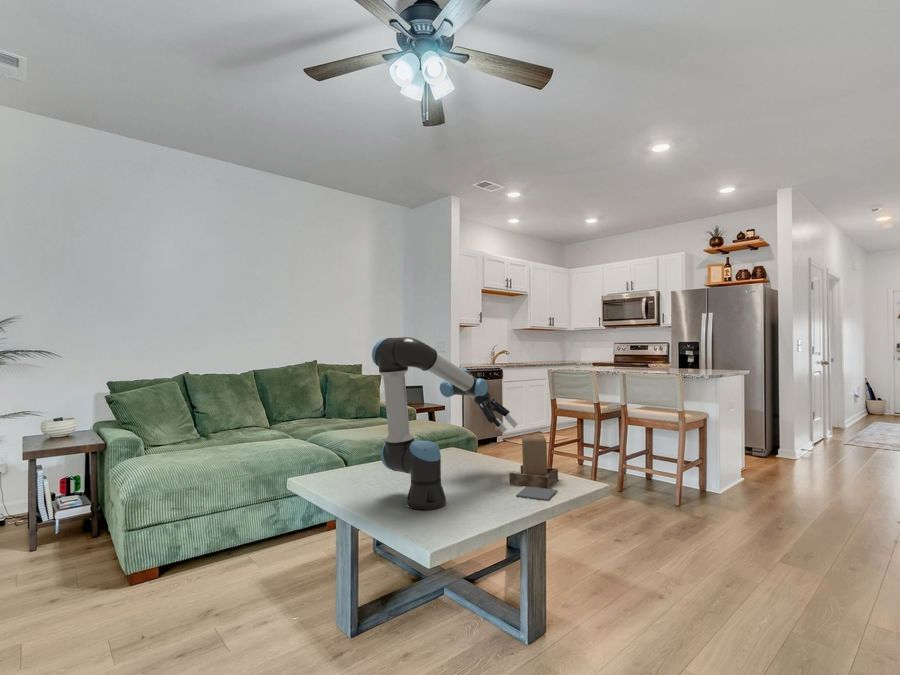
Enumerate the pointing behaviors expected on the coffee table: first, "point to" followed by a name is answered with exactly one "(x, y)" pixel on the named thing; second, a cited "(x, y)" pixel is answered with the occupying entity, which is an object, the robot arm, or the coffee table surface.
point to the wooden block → (534, 455)
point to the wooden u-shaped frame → (534, 479)
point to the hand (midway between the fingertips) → (510, 428)
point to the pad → (537, 493)
